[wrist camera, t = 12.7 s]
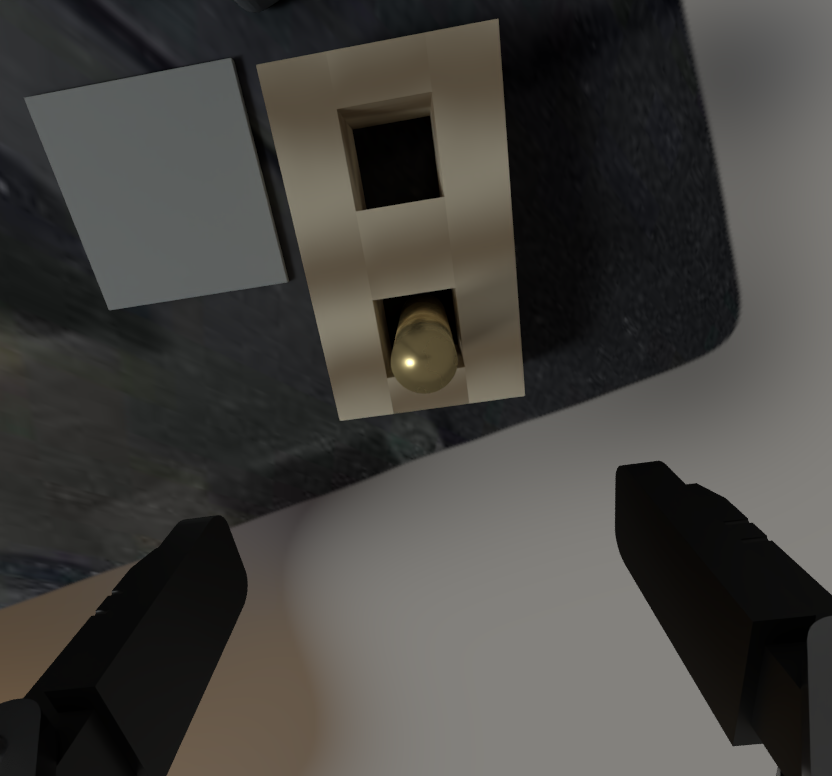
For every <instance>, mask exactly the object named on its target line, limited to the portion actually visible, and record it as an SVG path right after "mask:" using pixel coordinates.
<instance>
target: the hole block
mask: <svg viewBox="0 0 832 776" xmlns="http://www.w3.org/2000/svg"><path fill="white" fill-rule="evenodd" d="M256 67H257V71H258V75H259V80H260V84H261V88H262V92H263V97H264V101H265V105H266V109H267V114H268V118H269V122H270V126H271V131H272V135H273V139H274V143H275V147H276V152H277V156H278V160H279V164H280V169H281V173H282V177H283V181H284V186H285V190H286V194H287V198H288V203H289V207H290V211H291V215H292V220H293V224H294V228H295V232H296V236H297V241H298V245H299V249H300V253H301V258H302V262H303V266H304V270H305V275H306V279H307V283H308V287H309V292H310V296H311V300H312V304H313V309H314V313H315V317H316V321H317V325H318V330H319V334H320V338H321V342H322V347H323V351H324V355H325V359H326V364H327V368H328V372H329V376H330V381H331V385H332V389H333V393H334V398H335V402H336V406H337V410H338V414H339V419H340V421H343V420H351V419H358V418H365V417H373V416H380V415H387V414H395V413H402V412H410V411H417V410H424V409H432V408H439V407H446V406H454V405H461V404H469V403H476V402H483V401H491V400H498V399H505V398H513V397H520V396H525V389H524V375H523V361H522V347H521V333H520V318H519V304H518V290H517V276H516V262H515V247H514V233H513V219H512V205H511V191H510V177H509V162H508V148H507V134H506V120H505V106H504V91H503V77H502V63H501V49H500V35H499V20H498V19H493V20H488V21H483V22H478V23H472V24H467V25H462V26H457V27H451V28H446V29H441V30H436V31H431V32H425V33H420V34H415V35H410V36H404V37H399V38H394V39H389V40H384V41H378V42H373V43H368V44H363V45H358V46H352V47H347V48H342V49H337V50H331V51H326V52H321V53H316V54H311V55H305V56H300V57H295V58H290V59H285V60H279V61H274V62H269V63H264V64H258V65H256ZM425 116H430V120H431V128H432V136H433V144H434V152H435V160H436V168H437V177H438V185H439V193H440V198H434V199H428V200H422V201H416V202H410V203H404V204H398V205H392V206H386V207H380V208H374V209H368V210H367V209H366V203H365V198H364V192H363V187H362V181H361V175H360V170H359V164H358V159H357V153H356V148H355V142H354V136H353V131H352V130H353V129H359V128H364V127H370V126H375V125H381V124H386V123H392V122H398V121H403V120H409V119H414V118H420V117H425ZM450 288H451V290H452V299H453V307H454V315H455V323H456V331H457V339H458V344H456V345H455V349H456V353H457V358H458V365H457V370H456V373H455V375H454V377H453V379H452V380H451V381H450V382H449V384H448V385H446V386H445V387H444V388H442V389H441V390H438V391H436V392H433V393H426V394H422V393H415V392H412V391H410V390H408V389H406V388H404V387H403V386H402V385H401V384H400V383H399V382H398V381H397V380H396V378H395V376H394V374H393V372H392V368H391V355H392V349H391V343H390V338H389V332H388V326H387V321H386V315H385V310H384V304H383V299H385V298H392V297H398V296H405V295H411V294H418V293H424V292H431V291H437V290H444V289H450Z"/></svg>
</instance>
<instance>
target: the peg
mask: <svg viewBox="0 0 832 776" xmlns="http://www.w3.org/2000/svg"><path fill="white" fill-rule="evenodd" d="M457 365H458V358H457V353H456V349H455V345H454V342H453V338H452V334H451V330H450V326H449V323H448V319H447V315H446V311H445V308H444V306H443V304H442V303H441V302H440V300H439V299H437V298H436V297H434V296H432V295H429V294H417V295H414V296H412V297H411V298H409V299H408V300H407V301H406V302H405V304H404V305H403V307H402V310H401V314H400V319H399V323H398V328H397V332H396V337H395V341H394V346H393V350H392V355H391V368H392V372H393V374H394V376H395V378H396V380H397V381H398V382H399V383H400V384H401V385H402V386H403V387H404V388H406V389H408V390H410V391H412V392H415V393H422V394H426V393H433V392H436V391H438V390H441V389H442V388H444V387H445V386H446V385H448V384H449V382H450V381H451V380H452V379H453V377H454V375H455V373H456V370H457Z"/></svg>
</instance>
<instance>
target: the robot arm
mask: <svg viewBox="0 0 832 776" xmlns="http://www.w3.org/2000/svg"><path fill="white" fill-rule="evenodd" d="M615 485H616V488H615V490H616V491H615V534H616V541H617V545H618V548H619V552H620V555H621V557H622V559H623V561H624V563H625V565H626V567H627V568H628V570H629V572H630V574H631V575H632V577H633V579H634V580H635V582H636V584H637V585H638V587H639V589H640V591H641V592H642V594H643V596H644V597H645V599H646V601H647V602H648V604H649V606H650V607H651V609H652V611H653V612H654V614H655V616H656V617H657V619H658V621H659V622H660V624H661V626H662V627H663V629H664V631H665V633H666V634H667V636H668V638H669V639H670V641H671V643H672V644H673V646H674V648H675V650H676V651H677V653H678V655H679V656H680V658H681V660H682V661H683V663H684V665H685V666H686V668H687V670H688V671H689V673H690V675H691V676H692V678H693V680H694V682H695V683H696V685H697V686H698V688H699V690H700V692H701V693H702V695H703V697H704V698H705V700H706V702H707V703H708V705H709V707H710V708H711V710H712V712H713V714H714V715H715V717H716V719H717V720H718V722H719V724H720V725H721V727H722V729H723V731H724V732H725V734H726V736H727V737H728V739H729V741H730V742H731V744H732V746H739V745H740V746H741V745H752V744H764V746H765V747H766V749H767V750H768V752H769V753H770V755H771V756H772V758H773V760H774V761H775V763H776V764H777V766H778V768H777V773H776V776H832V595H831V594H830V593H829V592H828V591H826V590H825V589H824V588H823V587H822V586H821V585H820V584H819V583H818V582H817V581H816V580H814V579H813V578H812V577H811V576H810V575H809V574H808V573H807V572H806V571H805V570H804V569H802V568H801V567H800V566H799V565H798V564H797V563H796V562H795V561H794V560H792V558H790V557H789V556H788V555H787V554H786V553H785V552H784V551H783V550H782V549H781V548H780V547H778V546H777V545H776V544H775V543H774V542H773V541H768V539H767V536H766V535H765V534H764V533H763V532H762V531H761V530H760V529H759V528H758V527H757V526H755V525H754V524H753V523H749V521H748V518H747V517H745V515H744V514H742V513H741V512H740V511H739V510H738V509H737V508H736V507H735V506H733V504H731V503H730V502H729V501H728V500H727V499H726V498H724V497H722V496H720V495H718V494H716V493H714V492H712V491H710V490H709V489H707V488H705V487H703V486H701V485H699V484H697V483H695V484H685V483H684V482H683V481H682V480H681V479H680V478H679V477H678V476H677V475H676V474H675V473H674V472H673V471H672V470H671V469H670V468H669V467H668V466H667V465H666V464H665V463H663V462H661V461H654V462H645V463H638V464H630V465H622V466H619V467H618V468H617V471H616V484H615ZM247 587H248V584H247V575H246V571H245V568H244V566H243V563H242V560H241V558H240V555H239V552H238V550H237V547H236V544H235V542H234V539H233V536H232V533H231V531H230V528H229V525H228V523H227V521H226V520H225V518H224V517H222V516H220V515H217V516H209V517H201V518H193V519H185V520H182V521H180V522H179V523H178V524H177V525H176V526H175V527H174V528H173V530H172V531H171V532H170V533H169V535H168V536H167V537H166V538H165V540H164V541H163V542H162V544H161V545H160V546H159V547H158V548H156V549H154V550H153V551H152V552H151V553H149V554H148V555H147V556H146V557H144V558H143V559H142V560H141V561H139V562H138V563H137V564H136V565H134V566H133V567H132V568H131V569H130V570H129V571H128V572H127V573H126V575H125V576H124V577H123V578H122V580H121V581H120V582H119V583H118V584H117V586H116V587H115V588H114V589H113V590H112V595H111V596H108V597H107V598H106V599H105V600H104V601H103V603H102V604H101V605H100V606H99V607H98V608H97V610H96V614H95V616H91V617H90V618H89V619H88V621H87V622H86V623H85V624H84V626H83V627H82V628H81V629H80V630H79V632H78V633H77V634H76V635H75V636H74V638H73V639H72V640H71V641H70V642H69V644H68V645H67V646H66V647H65V648H64V650H63V651H62V652H61V653H60V655H59V656H58V657H57V658H56V659H55V661H54V662H53V663H52V664H51V665H50V667H49V668H48V669H47V670H46V672H45V673H44V674H43V675H42V676H41V677H40V679H39V680H38V681H37V683H35V685H34V686H33V687H32V688H31V690H30V691H29V692H28V693H27V694H26V696H25V697H24V698H22V699H14V700H10V701H7V702H3V703H1V704H0V776H166V775H167V773H168V771H169V769H170V767H171V764H172V762H173V760H174V758H175V756H176V753H177V751H178V749H179V747H180V745H181V742H182V740H183V738H184V736H185V733H186V731H187V729H188V727H189V725H190V722H191V720H192V718H193V716H194V714H195V712H196V709H197V707H198V705H199V703H200V701H201V698H202V696H203V694H204V692H205V690H206V687H207V685H208V683H209V681H210V679H211V676H212V674H213V672H214V670H215V668H216V666H217V663H218V661H219V659H220V657H221V655H222V652H223V650H224V648H225V646H226V643H227V641H228V639H229V637H230V635H231V633H232V630H233V628H234V626H235V624H236V621H237V619H238V617H239V615H240V612H241V611H242V608H243V606H244V604H245V600H246V596H247Z"/></svg>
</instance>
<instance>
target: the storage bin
mask: <svg viewBox="0 0 832 776" xmlns="http://www.w3.org/2000/svg"><path fill="white" fill-rule="evenodd" d="M234 1H235V2H236V3H237V4H238V5H239V6H240V7H242V8H243V9H245V10H246V11H248V12H253V13H257V12H261V11H264V10H265V9H267V8H268V7H270V6H271V5H273V4H274V3H276V2H277V1H279V0H234Z"/></svg>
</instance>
